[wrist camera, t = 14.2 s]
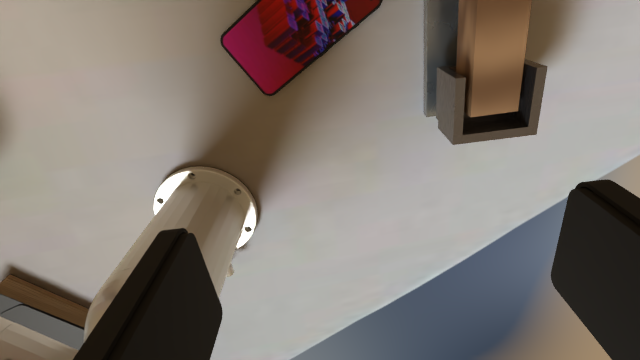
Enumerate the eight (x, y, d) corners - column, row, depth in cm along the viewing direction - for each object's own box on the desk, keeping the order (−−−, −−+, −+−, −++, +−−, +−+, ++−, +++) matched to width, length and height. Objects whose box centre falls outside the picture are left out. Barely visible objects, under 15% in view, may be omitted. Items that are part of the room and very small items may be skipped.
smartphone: (215, 39, 35) (336, -78, 30) (218, 38, 35) (336, -76, 31) (268, 100, 37) (386, 1, 33) (269, 97, 38) (385, 1, 34)
